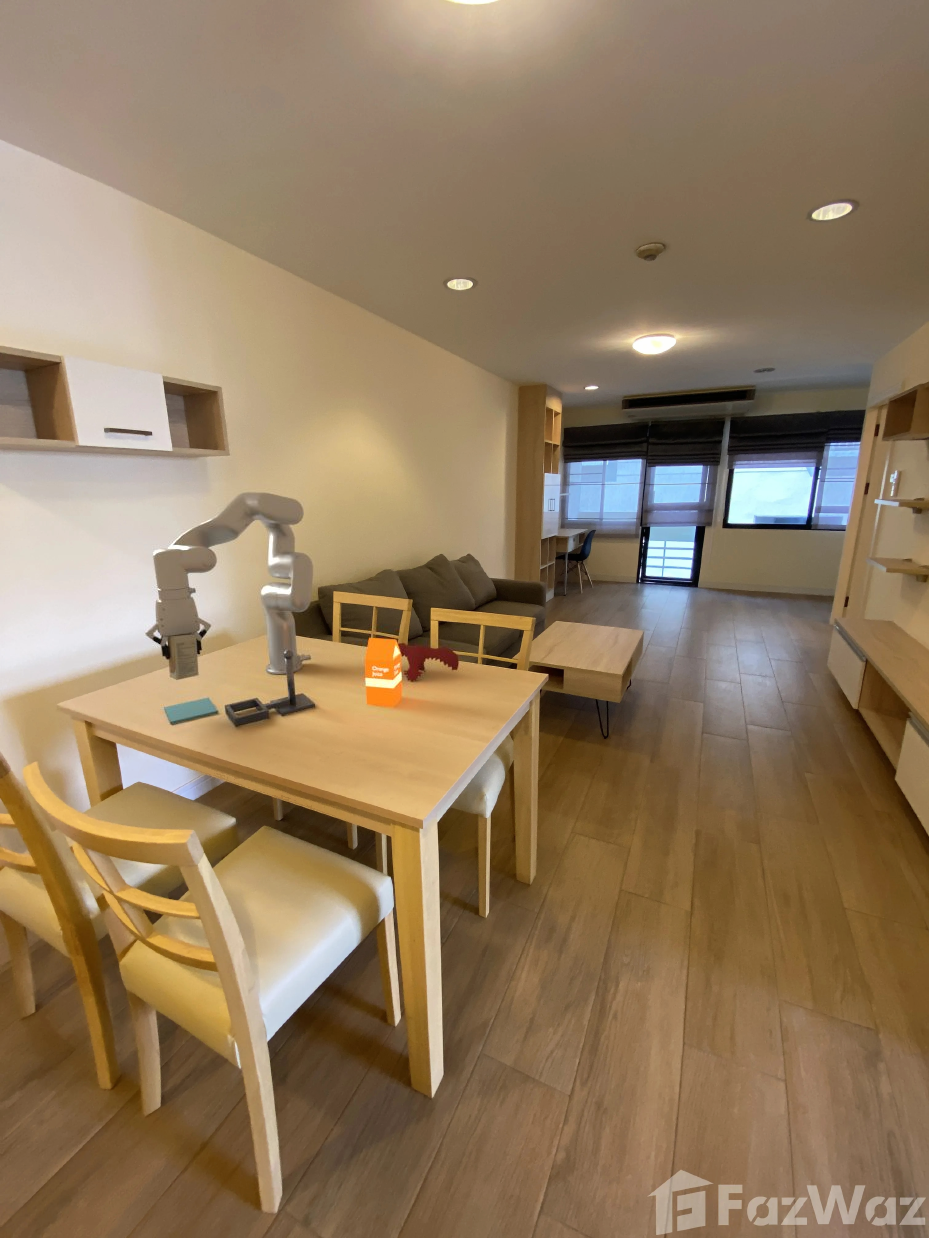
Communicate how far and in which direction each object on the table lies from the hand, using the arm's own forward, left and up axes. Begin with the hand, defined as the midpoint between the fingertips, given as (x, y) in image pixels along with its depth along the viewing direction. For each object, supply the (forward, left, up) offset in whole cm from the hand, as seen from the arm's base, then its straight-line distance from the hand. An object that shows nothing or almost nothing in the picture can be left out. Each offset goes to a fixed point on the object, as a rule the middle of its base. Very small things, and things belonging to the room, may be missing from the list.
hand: (182, 655), depth 141 cm
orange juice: (-49, +27, -18) cm, 59 cm away
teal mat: (0, 0, -17) cm, 17 cm away
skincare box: (+1, +1, -6) cm, 6 cm away
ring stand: (-19, +14, -17) cm, 29 cm away
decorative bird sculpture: (-69, +15, -18) cm, 73 cm away
